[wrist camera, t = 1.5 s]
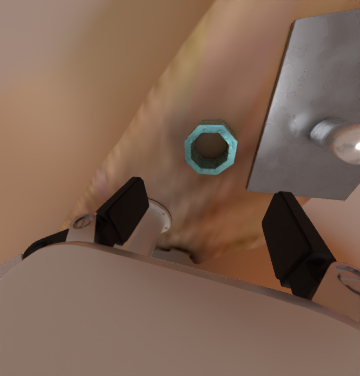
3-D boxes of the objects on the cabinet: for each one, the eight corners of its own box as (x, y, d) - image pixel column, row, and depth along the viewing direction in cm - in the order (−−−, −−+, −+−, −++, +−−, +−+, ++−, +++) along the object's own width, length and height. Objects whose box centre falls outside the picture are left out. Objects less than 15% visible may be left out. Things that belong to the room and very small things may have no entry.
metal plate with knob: (340, 196, 21) (381, 232, 16) (246, 187, 25) (252, 215, 19) (510, -13, 10) (871, -146, 4) (291, 23, 13) (340, -25, 8)
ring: (230, 164, 23) (231, 176, 20) (190, 162, 25) (185, 172, 22) (238, 119, 19) (241, 124, 16) (189, 120, 21) (183, 125, 17)
